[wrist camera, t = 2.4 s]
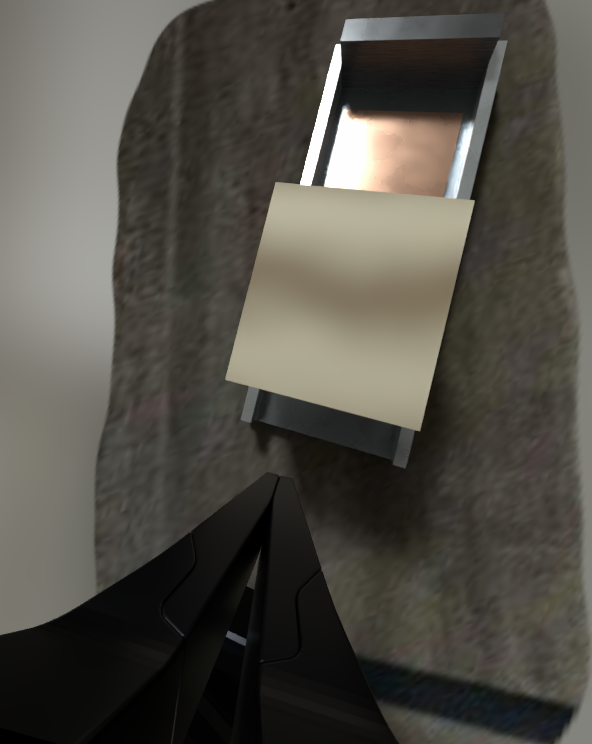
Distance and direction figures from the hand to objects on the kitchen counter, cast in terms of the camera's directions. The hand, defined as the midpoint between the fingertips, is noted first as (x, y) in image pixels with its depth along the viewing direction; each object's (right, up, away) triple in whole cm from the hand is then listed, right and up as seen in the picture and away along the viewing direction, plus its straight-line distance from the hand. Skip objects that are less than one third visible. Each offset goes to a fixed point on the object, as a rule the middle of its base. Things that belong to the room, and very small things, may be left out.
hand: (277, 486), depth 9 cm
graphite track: (+6, +13, +13) cm, 19 cm away
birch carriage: (+4, +6, +11) cm, 14 cm away
